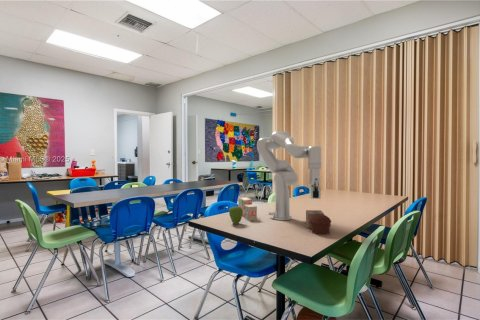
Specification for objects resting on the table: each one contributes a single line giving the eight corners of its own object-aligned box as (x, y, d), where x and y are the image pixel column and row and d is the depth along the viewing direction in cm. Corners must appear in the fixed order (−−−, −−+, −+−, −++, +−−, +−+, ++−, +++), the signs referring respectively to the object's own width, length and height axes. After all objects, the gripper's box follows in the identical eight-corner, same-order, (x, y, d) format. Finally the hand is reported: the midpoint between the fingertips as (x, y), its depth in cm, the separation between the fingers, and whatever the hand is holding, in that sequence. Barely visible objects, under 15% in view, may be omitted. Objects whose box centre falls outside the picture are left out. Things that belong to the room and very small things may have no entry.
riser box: (308, 228, 158) (308, 213, 158) (306, 224, 167) (305, 210, 167) (324, 229, 157) (324, 213, 157) (320, 225, 166) (320, 210, 166)
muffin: (306, 232, 150) (306, 215, 150) (314, 228, 158) (314, 211, 158) (326, 237, 142) (326, 218, 142) (334, 232, 151) (334, 214, 150)
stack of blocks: (257, 220, 180) (256, 201, 180) (248, 220, 178) (248, 202, 178) (246, 213, 201) (246, 196, 200) (238, 214, 199) (238, 197, 198)
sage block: (311, 198, 159) (310, 186, 159) (309, 197, 165) (309, 185, 164) (320, 198, 159) (320, 186, 158) (318, 197, 164) (318, 185, 164)
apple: (244, 222, 174) (244, 204, 173) (240, 225, 166) (240, 207, 165) (231, 221, 176) (231, 204, 176) (227, 225, 168) (227, 206, 168)
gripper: (306, 166, 170) (306, 194, 170) (310, 167, 153) (310, 199, 153) (318, 166, 169) (318, 194, 170) (324, 167, 152) (324, 199, 153)
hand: (314, 196), depth 162 cm, fingers closed on sage block, 5 cm apart
